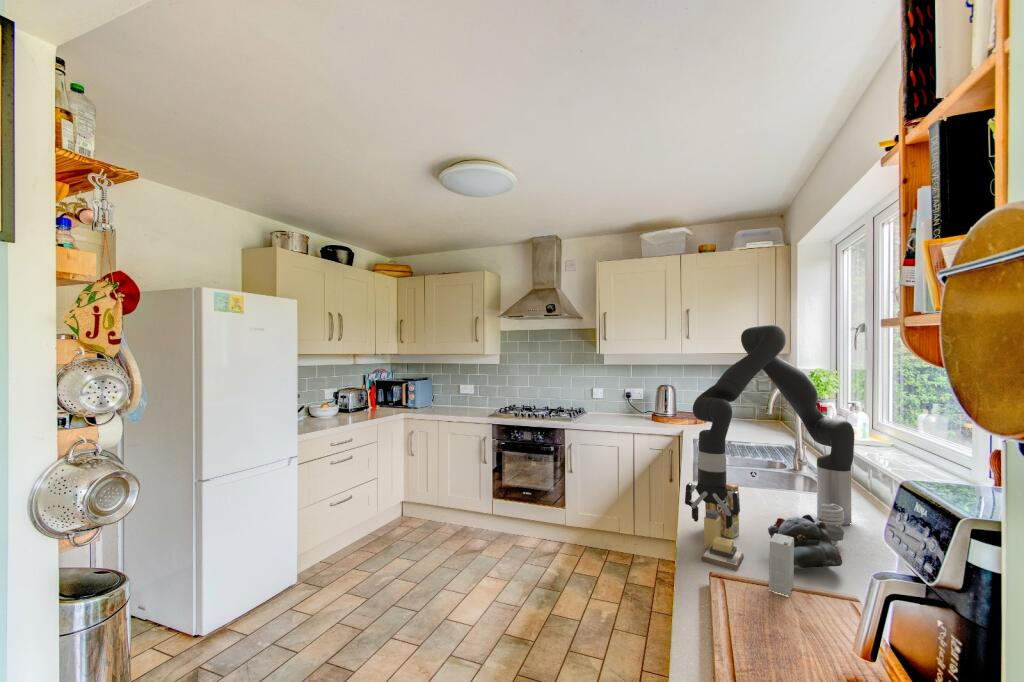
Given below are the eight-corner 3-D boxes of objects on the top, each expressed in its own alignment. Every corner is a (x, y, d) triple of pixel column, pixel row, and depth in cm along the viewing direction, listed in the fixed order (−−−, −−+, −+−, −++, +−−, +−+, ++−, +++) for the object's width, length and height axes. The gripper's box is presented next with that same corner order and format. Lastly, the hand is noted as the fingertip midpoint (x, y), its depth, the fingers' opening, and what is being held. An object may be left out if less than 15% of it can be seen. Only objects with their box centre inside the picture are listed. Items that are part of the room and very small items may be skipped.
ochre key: (716, 543, 125) (716, 536, 125) (733, 547, 122) (733, 540, 122) (712, 549, 121) (712, 542, 121) (730, 554, 118) (730, 546, 118)
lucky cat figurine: (773, 571, 114) (759, 513, 121) (782, 573, 122) (768, 519, 129) (843, 569, 106) (823, 507, 113) (847, 571, 114) (828, 514, 121)
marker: (707, 543, 131) (707, 508, 131) (720, 546, 128) (720, 511, 129) (704, 547, 128) (704, 512, 128) (717, 550, 125) (717, 515, 126)
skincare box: (773, 581, 109) (772, 531, 109) (794, 588, 106) (794, 536, 106) (768, 592, 104) (767, 540, 104) (790, 599, 101) (790, 545, 102)
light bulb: (840, 543, 130) (840, 501, 131) (847, 551, 125) (847, 508, 125) (817, 540, 132) (817, 499, 132) (824, 548, 127) (823, 506, 127)
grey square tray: (708, 549, 126) (708, 540, 126) (743, 558, 121) (743, 548, 121) (701, 560, 120) (701, 550, 120) (737, 570, 114) (737, 560, 114)
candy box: (739, 536, 135) (739, 485, 136) (731, 539, 133) (731, 487, 133) (712, 526, 143) (712, 477, 143) (704, 529, 140) (704, 480, 141)
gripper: (741, 468, 127) (741, 526, 127) (689, 460, 136) (689, 514, 135) (736, 474, 121) (736, 535, 121) (682, 465, 130) (682, 522, 129)
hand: (711, 524), depth 128 cm, fingers open, 8 cm apart
